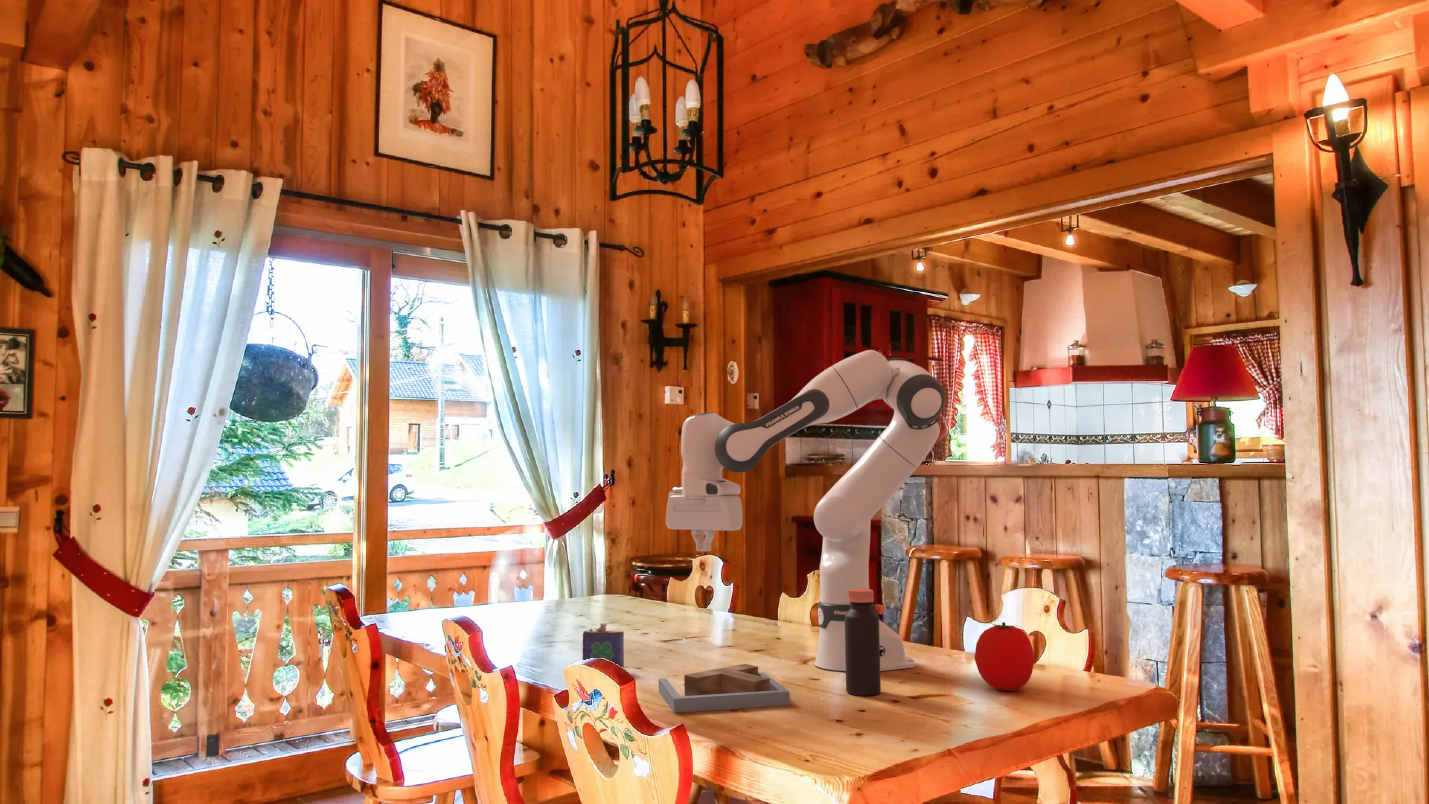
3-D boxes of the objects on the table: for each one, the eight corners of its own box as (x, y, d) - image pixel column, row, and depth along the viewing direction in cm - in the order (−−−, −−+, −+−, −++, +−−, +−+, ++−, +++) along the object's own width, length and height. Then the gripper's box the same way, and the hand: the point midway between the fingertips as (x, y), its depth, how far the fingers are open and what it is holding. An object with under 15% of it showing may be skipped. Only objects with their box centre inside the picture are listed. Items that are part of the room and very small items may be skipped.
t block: (745, 683, 195) (745, 663, 195) (792, 694, 184) (792, 674, 184) (684, 695, 185) (684, 674, 185) (730, 708, 174) (730, 686, 174)
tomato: (1050, 691, 184) (1047, 623, 185) (1006, 699, 178) (1004, 629, 179) (1004, 680, 194) (1002, 616, 195) (961, 688, 188) (959, 621, 189)
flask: (624, 670, 209) (624, 621, 210) (622, 673, 206) (622, 623, 207) (583, 670, 210) (583, 622, 210) (581, 673, 207) (580, 624, 207)
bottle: (840, 690, 187) (838, 588, 189) (872, 687, 189) (869, 587, 191) (854, 697, 181) (851, 592, 183) (886, 695, 183) (884, 591, 184)
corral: (764, 684, 193) (764, 672, 193) (789, 705, 176) (789, 691, 176) (658, 691, 188) (658, 678, 189) (673, 712, 171) (673, 698, 171)
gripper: (658, 487, 209) (660, 550, 208) (726, 486, 195) (728, 553, 194) (678, 487, 214) (680, 548, 213) (746, 486, 200) (748, 551, 199)
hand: (703, 551), depth 203 cm, fingers closed
